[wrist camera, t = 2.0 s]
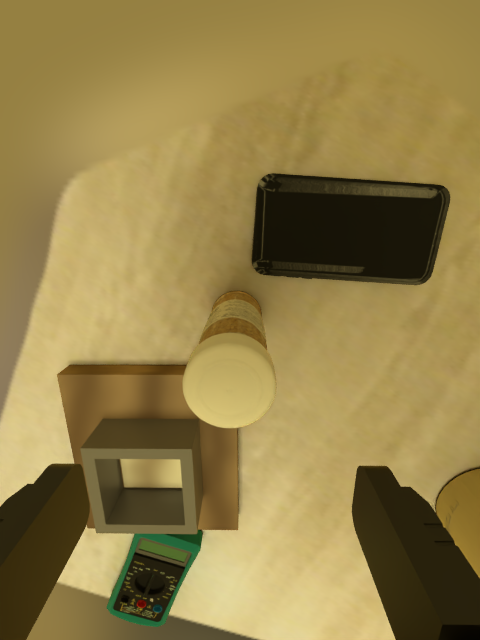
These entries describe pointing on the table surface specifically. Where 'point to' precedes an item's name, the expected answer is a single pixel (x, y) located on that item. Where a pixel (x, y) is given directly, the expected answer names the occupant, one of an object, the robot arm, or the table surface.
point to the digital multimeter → (153, 576)
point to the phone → (348, 228)
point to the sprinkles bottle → (231, 365)
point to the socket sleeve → (137, 502)
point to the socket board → (152, 403)
